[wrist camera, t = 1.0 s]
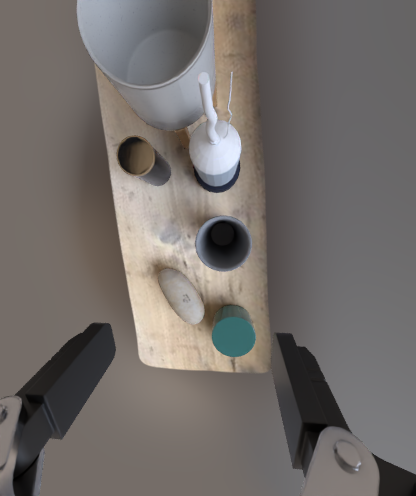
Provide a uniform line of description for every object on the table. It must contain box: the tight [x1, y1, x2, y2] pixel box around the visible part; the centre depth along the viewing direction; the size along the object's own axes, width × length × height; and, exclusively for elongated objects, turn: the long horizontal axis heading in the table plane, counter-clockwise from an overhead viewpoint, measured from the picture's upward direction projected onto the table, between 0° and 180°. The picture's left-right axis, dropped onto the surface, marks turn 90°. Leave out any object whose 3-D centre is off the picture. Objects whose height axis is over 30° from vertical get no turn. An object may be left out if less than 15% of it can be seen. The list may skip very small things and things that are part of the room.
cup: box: [195, 216, 252, 271], centre depth 32 cm, size 7×7×15 cm
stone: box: [158, 268, 205, 324], centre depth 39 cm, size 6×6×12 cm
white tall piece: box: [189, 72, 241, 193], centre depth 25 cm, size 8×8×25 cm
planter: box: [77, 0, 217, 149], centre depth 27 cm, size 13×13×18 cm
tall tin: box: [117, 135, 171, 186], centre depth 33 cm, size 5×5×10 cm
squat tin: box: [212, 305, 256, 357], centre depth 39 cm, size 8×8×5 cm
